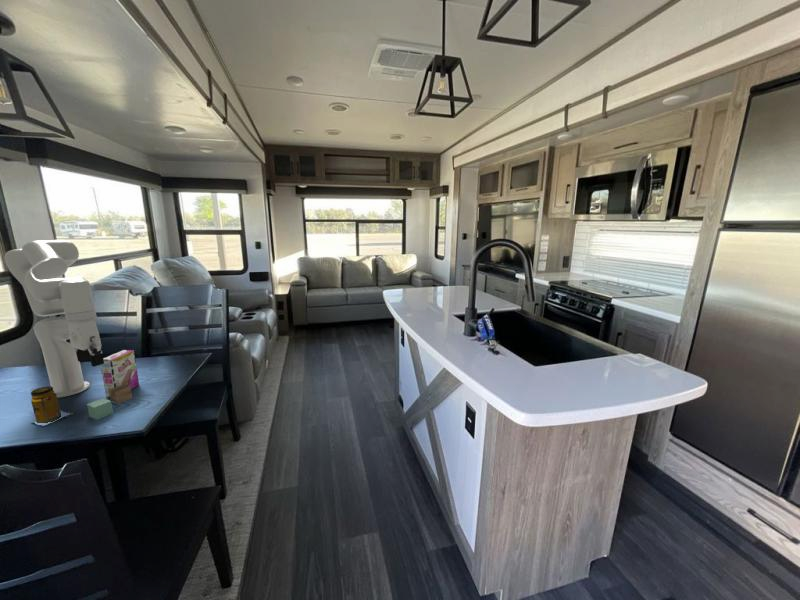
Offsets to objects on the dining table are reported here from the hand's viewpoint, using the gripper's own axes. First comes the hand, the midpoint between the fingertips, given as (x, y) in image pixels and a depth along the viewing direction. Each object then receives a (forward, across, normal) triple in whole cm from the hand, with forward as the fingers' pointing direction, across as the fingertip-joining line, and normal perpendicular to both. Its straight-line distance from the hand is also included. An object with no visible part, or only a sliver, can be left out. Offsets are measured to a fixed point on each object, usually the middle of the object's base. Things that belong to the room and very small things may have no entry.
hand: (91, 362), depth 114 cm
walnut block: (+21, -7, +9) cm, 24 cm away
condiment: (+21, -13, -9) cm, 26 cm away
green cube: (+21, -1, 0) cm, 21 cm away
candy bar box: (+21, -14, +13) cm, 28 cm away
